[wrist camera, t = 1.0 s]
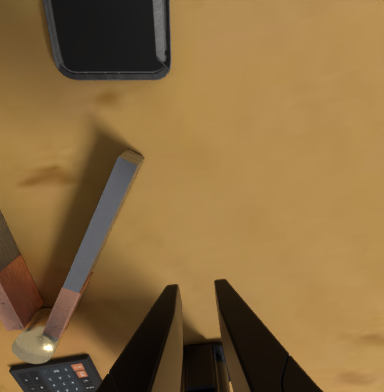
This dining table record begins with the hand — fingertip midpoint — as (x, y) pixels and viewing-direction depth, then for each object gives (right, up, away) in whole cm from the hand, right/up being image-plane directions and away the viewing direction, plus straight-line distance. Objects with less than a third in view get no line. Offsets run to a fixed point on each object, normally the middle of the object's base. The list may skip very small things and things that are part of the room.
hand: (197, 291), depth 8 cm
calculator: (-16, -21, +21) cm, 34 cm away
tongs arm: (-11, -2, +13) cm, 17 cm away
